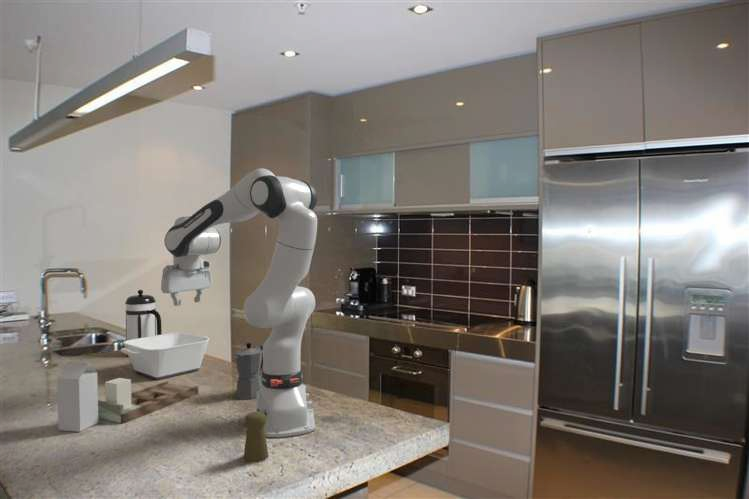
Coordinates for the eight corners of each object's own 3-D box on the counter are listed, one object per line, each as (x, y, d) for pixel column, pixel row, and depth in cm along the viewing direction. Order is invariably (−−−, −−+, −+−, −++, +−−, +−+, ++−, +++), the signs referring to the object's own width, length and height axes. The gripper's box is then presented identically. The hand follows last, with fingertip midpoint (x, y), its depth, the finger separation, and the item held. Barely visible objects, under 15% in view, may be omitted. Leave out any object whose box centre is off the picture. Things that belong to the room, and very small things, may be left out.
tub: (141, 388, 183) (141, 352, 183) (109, 375, 200) (108, 343, 200) (223, 368, 209) (222, 337, 209) (188, 358, 226) (187, 330, 226)
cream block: (120, 404, 159) (119, 377, 159) (131, 406, 157) (130, 379, 156) (105, 409, 154) (105, 382, 154) (117, 412, 152) (116, 384, 152)
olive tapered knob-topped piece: (270, 451, 128) (269, 408, 128) (266, 462, 122) (265, 417, 122) (246, 452, 128) (245, 409, 128) (240, 463, 122) (240, 417, 122)
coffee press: (119, 360, 224) (118, 292, 223) (127, 352, 240) (126, 288, 239) (161, 357, 229) (160, 290, 228) (167, 349, 244) (165, 287, 243)
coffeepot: (248, 403, 166) (248, 348, 165) (225, 399, 169) (224, 345, 169) (275, 389, 180) (275, 339, 179) (253, 386, 184) (253, 337, 183)
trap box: (166, 388, 182) (166, 374, 182) (198, 393, 176) (198, 379, 175) (88, 416, 155) (88, 399, 154) (123, 423, 148) (122, 406, 148)
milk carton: (80, 432, 142) (78, 364, 141) (58, 430, 143) (56, 363, 143) (98, 423, 149) (97, 358, 148) (77, 421, 150) (76, 357, 150)
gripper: (170, 265, 165) (171, 308, 165) (214, 262, 184) (215, 300, 184) (156, 265, 168) (156, 307, 168) (201, 262, 186) (201, 299, 187)
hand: (187, 303), depth 176 cm, fingers open, 8 cm apart
